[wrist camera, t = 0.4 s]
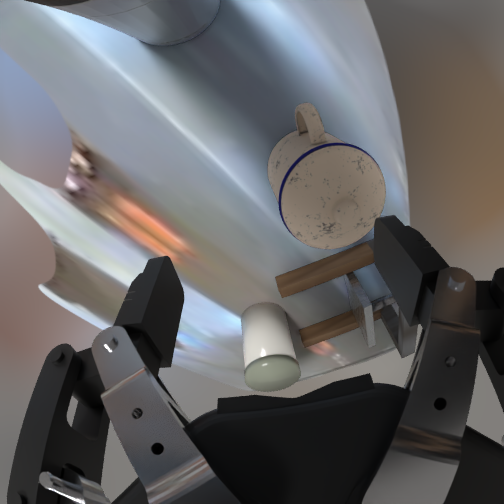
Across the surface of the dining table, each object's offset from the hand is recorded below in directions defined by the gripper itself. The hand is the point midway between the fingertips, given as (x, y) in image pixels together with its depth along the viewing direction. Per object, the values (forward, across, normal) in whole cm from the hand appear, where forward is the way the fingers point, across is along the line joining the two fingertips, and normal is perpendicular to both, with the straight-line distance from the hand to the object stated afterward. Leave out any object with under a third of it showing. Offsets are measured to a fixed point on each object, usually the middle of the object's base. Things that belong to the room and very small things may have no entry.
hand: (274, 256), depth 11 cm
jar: (+20, +3, +24) cm, 31 cm away
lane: (+20, -7, +22) cm, 31 cm away
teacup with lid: (+20, -5, +2) cm, 21 cm away
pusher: (+20, -12, +21) cm, 31 cm away
